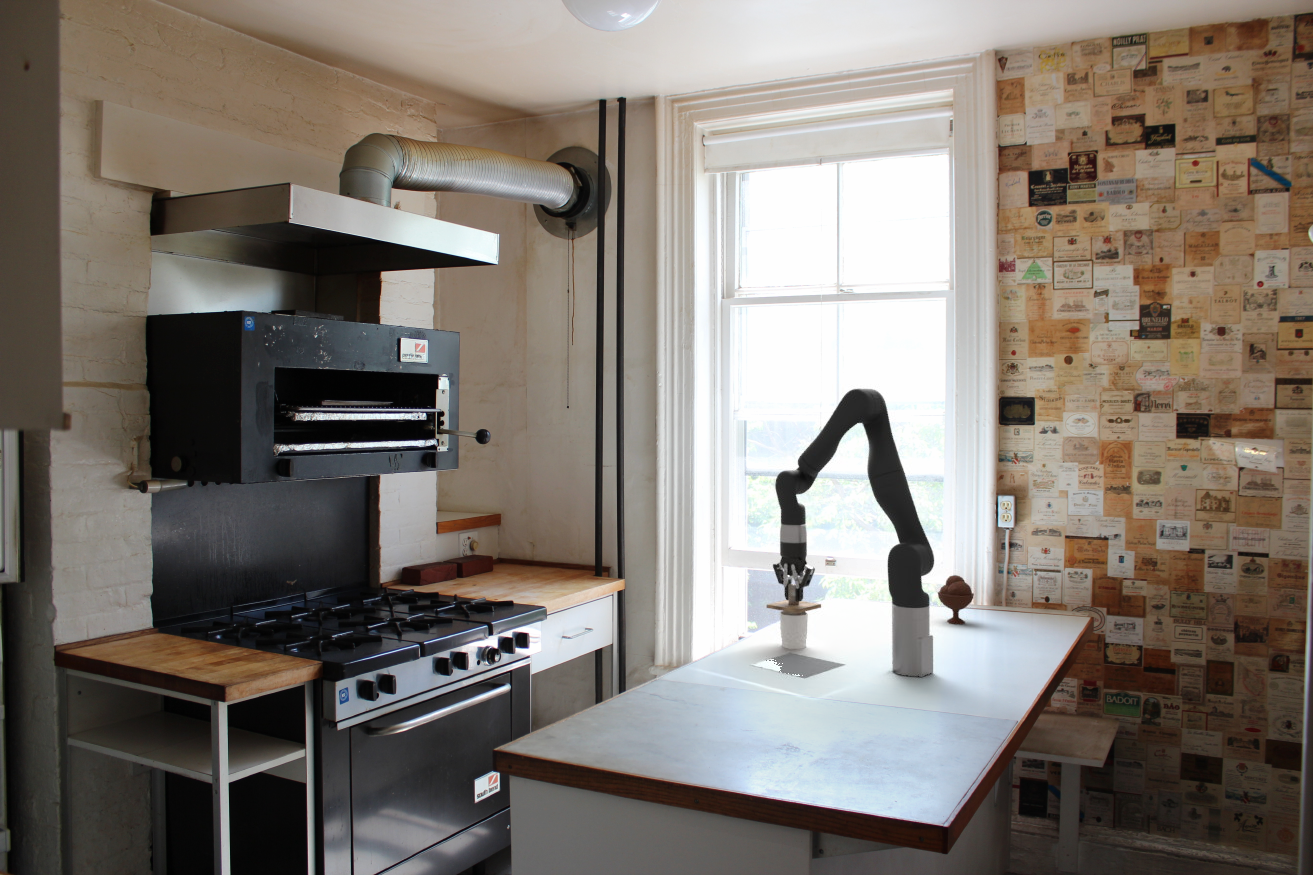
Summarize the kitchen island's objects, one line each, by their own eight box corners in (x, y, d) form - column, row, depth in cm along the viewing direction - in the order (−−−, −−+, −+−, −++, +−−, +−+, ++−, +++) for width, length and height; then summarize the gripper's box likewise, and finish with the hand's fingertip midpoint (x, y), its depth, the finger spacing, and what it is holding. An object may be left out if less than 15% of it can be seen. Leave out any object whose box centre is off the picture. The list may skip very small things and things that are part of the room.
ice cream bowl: (930, 620, 286) (930, 574, 286) (957, 617, 291) (956, 572, 291) (954, 627, 277) (954, 579, 277) (981, 623, 281) (981, 576, 281)
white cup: (799, 652, 247) (799, 616, 247) (775, 648, 251) (774, 613, 251) (812, 646, 253) (812, 612, 253) (788, 643, 258) (788, 608, 258)
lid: (821, 607, 252) (820, 584, 252) (797, 613, 244) (797, 589, 244) (790, 602, 260) (789, 580, 260) (766, 607, 252) (766, 585, 252)
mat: (845, 666, 231) (845, 664, 231) (804, 679, 219) (804, 677, 219) (790, 654, 244) (790, 652, 244) (748, 666, 232) (748, 664, 232)
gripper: (821, 540, 250) (821, 601, 250) (781, 536, 260) (782, 595, 260) (805, 543, 244) (806, 605, 244) (765, 539, 254) (766, 599, 254)
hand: (793, 600), depth 252 cm, fingers closed on lid, 3 cm apart
